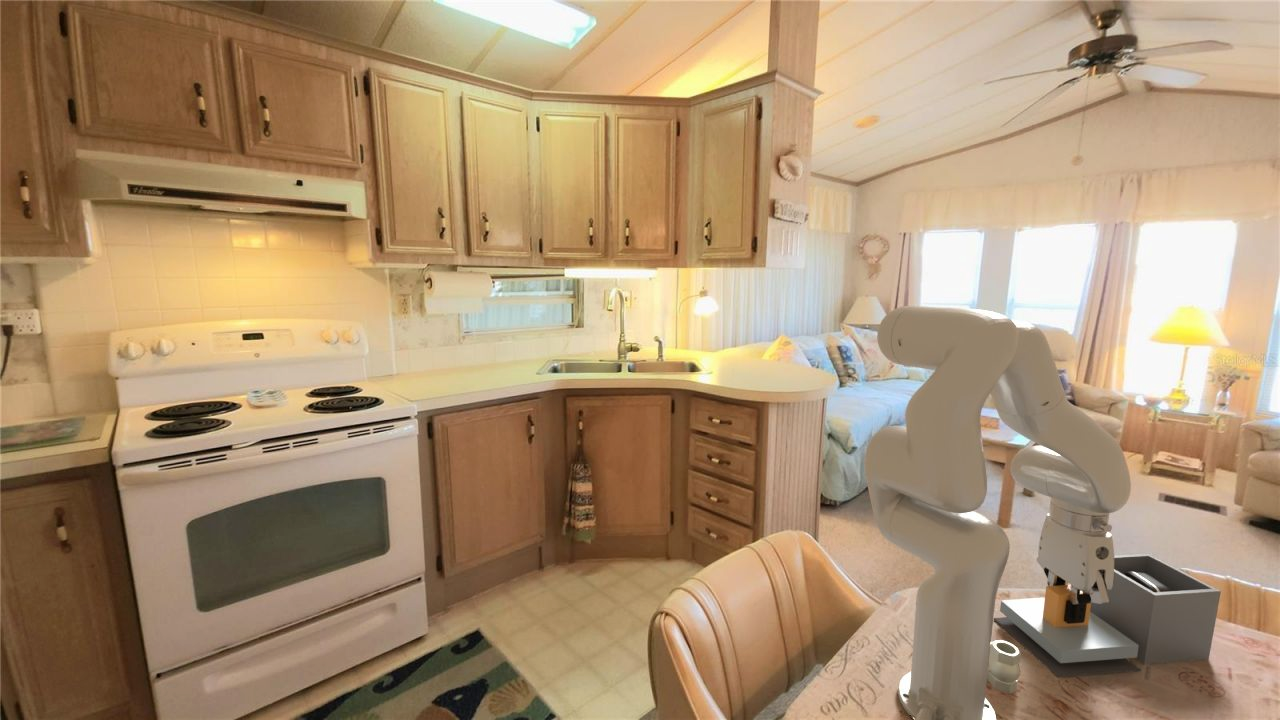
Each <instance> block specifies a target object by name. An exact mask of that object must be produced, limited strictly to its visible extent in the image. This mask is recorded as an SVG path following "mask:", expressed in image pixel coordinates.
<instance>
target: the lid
mask: <svg viewBox="0 0 1280 720" xmlns="http://www.w3.org/2000/svg"><path fill="white" fill-rule="evenodd" d="M1070 589H1071V584H1068V585H1060V586H1048V585H1047V586H1046V587H1045V595H1044V597H1033V598H1031V597H1030V598H1016V599H1003V600H1000V606H999V608H1000V609H999V612H1001V614H1003V615H1004V617H1007V618H1008V619H1010V620H1011V621H1012V622H1013V623H1014V624H1015V625H1017V626H1018V627H1019V628H1020V629H1021V630H1022V631H1024V632H1025V633H1026V634H1027V635H1028V636H1029V637H1031V638H1032V639H1033V640H1034V641H1035V642H1036V643H1038V644H1039V645H1040V646H1041V647H1042V648H1043V649H1045V650H1046V651H1047V652H1048V653H1049V654H1050V655H1052V656H1053V657H1054V658H1055V659H1056V660H1057V661H1059V662H1060V663H1071V662H1084V661H1097V660H1110V659H1123V658H1126V659H1132V658H1133V659H1136V657H1137V653H1138V647H1139V645H1138V644H1136V643H1135V642H1133V641H1132V640H1130V639H1129V638H1128V637H1126V636H1125V635H1123V634H1122V633H1120V632H1119V631H1118V630H1116V629H1115V628H1113V627H1112V626H1110V625H1109V624H1108V623H1106V622H1105V621H1103V620H1102V619H1100V618H1099V617H1098V616H1096V615H1095V614H1093V613H1092V612H1090V608H1091V603H1089V604H1087V607H1086V614H1085V621H1084V622H1083V623H1072V624H1068V623H1066V622H1065V621H1064V617H1065V609H1066V601H1067V600H1070ZM1081 594H1083V591H1080V595H1081Z"/></svg>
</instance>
